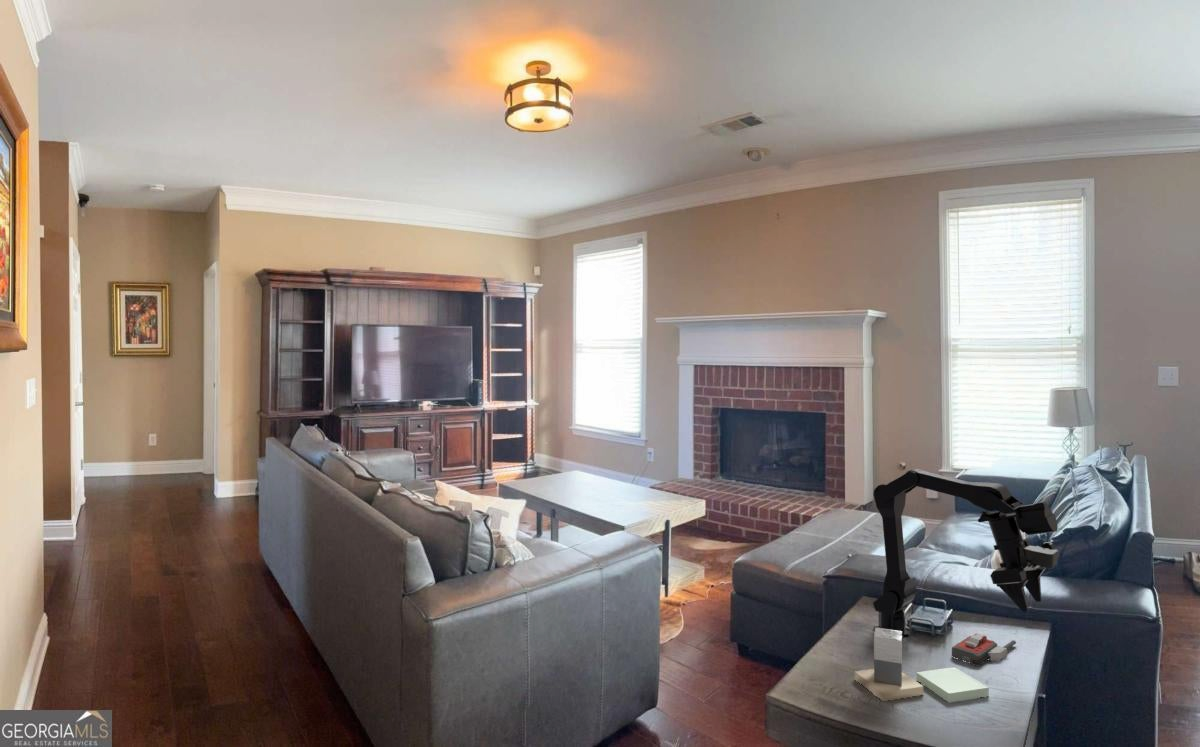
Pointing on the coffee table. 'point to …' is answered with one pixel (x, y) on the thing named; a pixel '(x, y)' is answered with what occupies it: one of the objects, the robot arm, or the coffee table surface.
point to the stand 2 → (952, 684)
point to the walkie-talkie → (979, 649)
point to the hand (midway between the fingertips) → (1032, 606)
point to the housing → (888, 656)
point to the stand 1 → (889, 686)
